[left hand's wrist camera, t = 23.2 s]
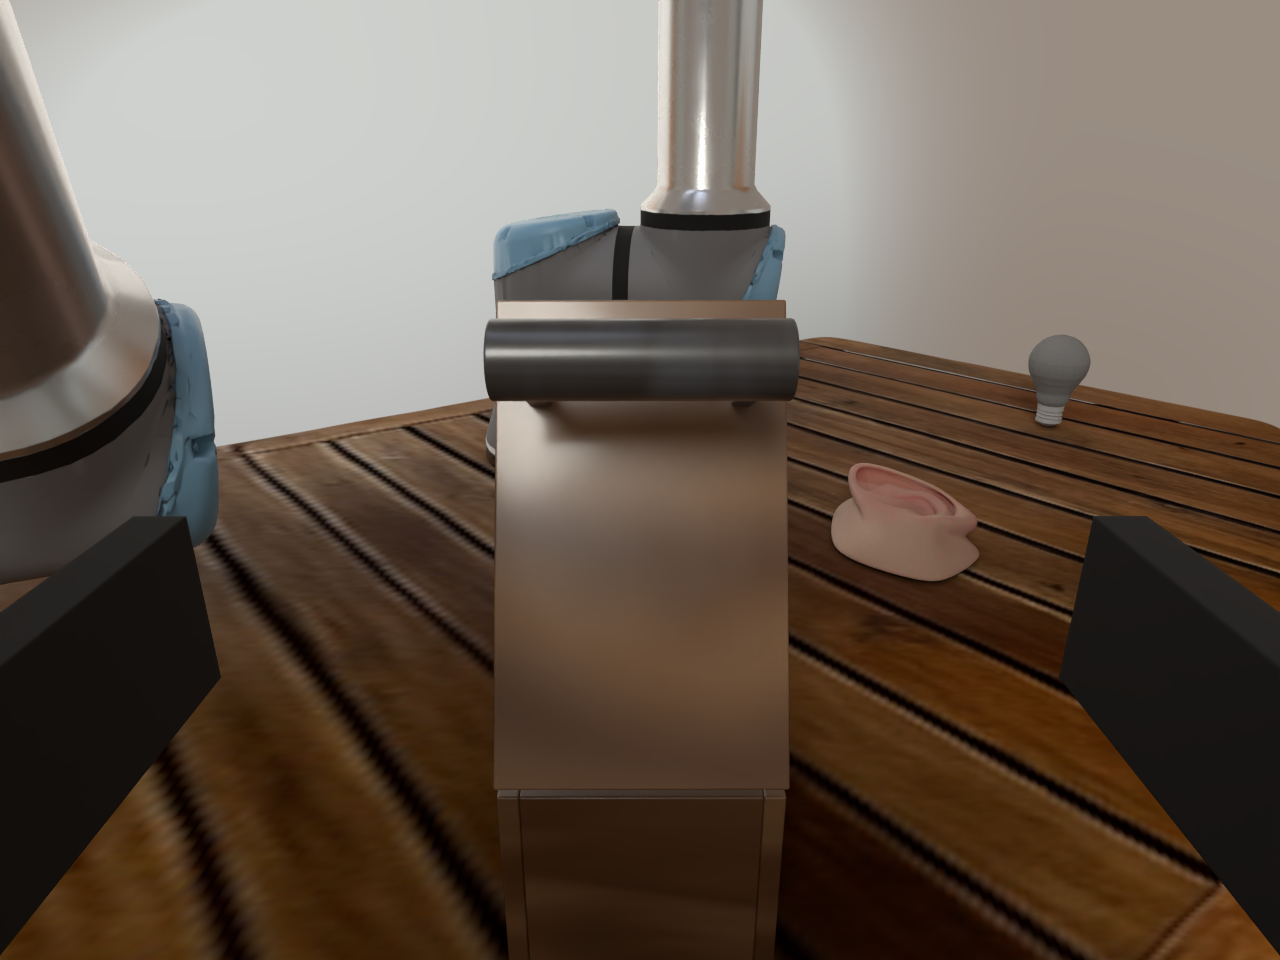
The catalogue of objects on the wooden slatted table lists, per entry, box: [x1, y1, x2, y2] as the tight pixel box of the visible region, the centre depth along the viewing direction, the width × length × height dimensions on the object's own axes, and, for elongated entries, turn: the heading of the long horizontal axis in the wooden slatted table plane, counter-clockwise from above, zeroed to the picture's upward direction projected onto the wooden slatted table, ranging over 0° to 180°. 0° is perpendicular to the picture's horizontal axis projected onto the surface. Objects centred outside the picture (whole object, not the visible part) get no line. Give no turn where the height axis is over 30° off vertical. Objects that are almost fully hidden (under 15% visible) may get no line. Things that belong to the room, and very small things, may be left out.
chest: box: [497, 790, 786, 960], centre depth 36 cm, size 15×10×9 cm, turn 0°
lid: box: [484, 300, 800, 790], centre depth 24 cm, size 16×10×8 cm
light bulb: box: [1029, 335, 1090, 426], centre depth 92 cm, size 6×6×10 cm
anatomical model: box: [831, 463, 979, 581], centre depth 65 cm, size 13×4×12 cm
